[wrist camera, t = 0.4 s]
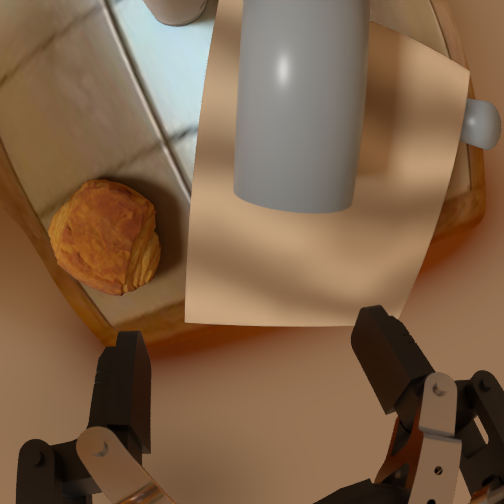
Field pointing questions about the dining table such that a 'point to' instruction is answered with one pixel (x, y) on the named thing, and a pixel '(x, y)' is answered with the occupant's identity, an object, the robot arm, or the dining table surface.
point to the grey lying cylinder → (301, 103)
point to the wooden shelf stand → (324, 224)
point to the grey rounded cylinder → (480, 124)
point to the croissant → (107, 237)
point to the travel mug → (176, 10)
